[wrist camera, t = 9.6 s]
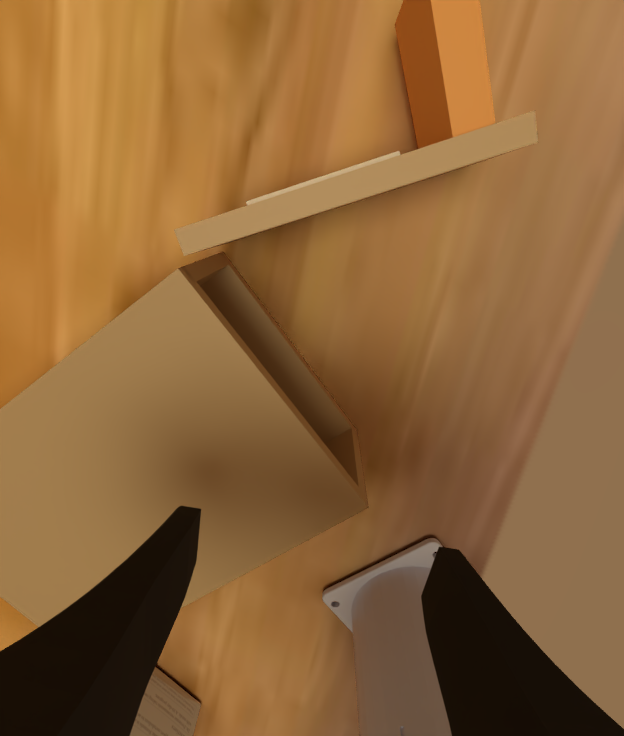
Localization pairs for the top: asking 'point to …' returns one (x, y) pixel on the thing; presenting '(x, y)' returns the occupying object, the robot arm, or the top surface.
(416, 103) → the carton flap
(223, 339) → the kraft carton
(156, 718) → the supplement box
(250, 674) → the top surface
